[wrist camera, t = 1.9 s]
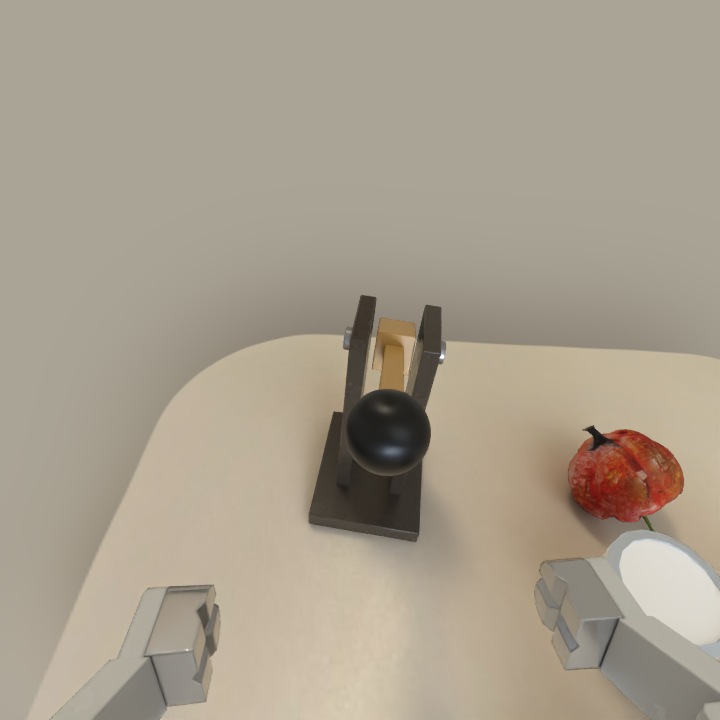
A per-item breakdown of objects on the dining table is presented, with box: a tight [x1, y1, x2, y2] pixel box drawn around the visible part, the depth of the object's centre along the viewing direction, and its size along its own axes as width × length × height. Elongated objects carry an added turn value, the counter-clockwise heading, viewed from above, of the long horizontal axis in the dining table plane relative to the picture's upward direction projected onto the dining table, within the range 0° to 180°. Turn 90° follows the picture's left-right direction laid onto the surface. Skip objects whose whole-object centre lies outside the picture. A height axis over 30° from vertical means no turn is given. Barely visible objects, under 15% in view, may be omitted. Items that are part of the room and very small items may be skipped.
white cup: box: [602, 529, 720, 659], centre depth 27 cm, size 7×7×7 cm
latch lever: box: [345, 318, 431, 476], centre depth 22 cm, size 13×3×3 cm, turn 173°
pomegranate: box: [568, 425, 684, 532], centre depth 34 cm, size 7×7×10 cm
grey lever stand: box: [309, 295, 446, 542], centre depth 31 cm, size 10×8×16 cm
